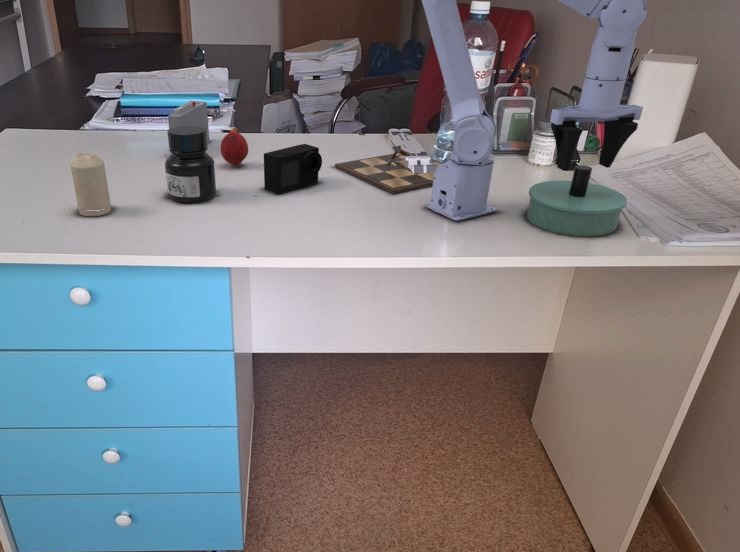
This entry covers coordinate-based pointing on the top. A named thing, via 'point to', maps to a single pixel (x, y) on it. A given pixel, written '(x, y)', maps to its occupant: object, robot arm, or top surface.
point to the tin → (571, 221)
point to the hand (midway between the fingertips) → (583, 167)
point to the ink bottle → (189, 165)
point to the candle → (90, 184)
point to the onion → (234, 147)
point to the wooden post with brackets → (402, 152)
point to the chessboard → (388, 173)
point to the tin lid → (578, 194)
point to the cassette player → (190, 116)
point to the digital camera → (291, 168)
